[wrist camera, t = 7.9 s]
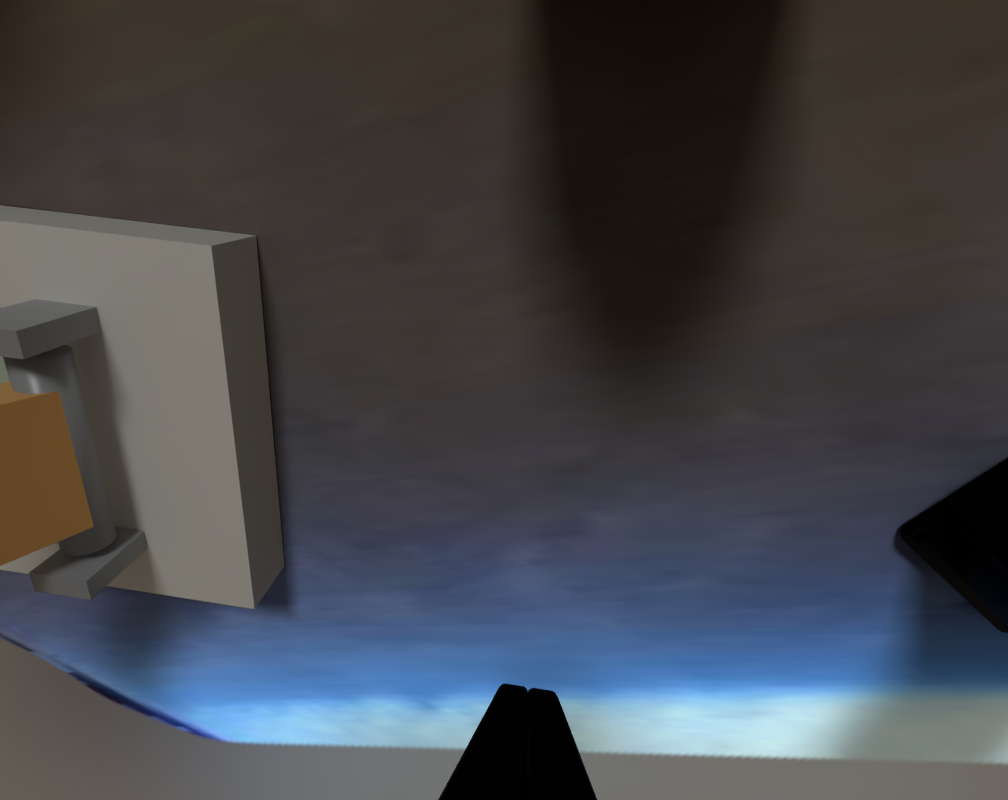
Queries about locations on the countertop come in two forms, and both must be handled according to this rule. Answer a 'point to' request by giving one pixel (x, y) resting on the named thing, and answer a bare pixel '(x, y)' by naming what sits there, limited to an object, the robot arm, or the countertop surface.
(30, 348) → the base
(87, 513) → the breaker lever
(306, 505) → the countertop surface
